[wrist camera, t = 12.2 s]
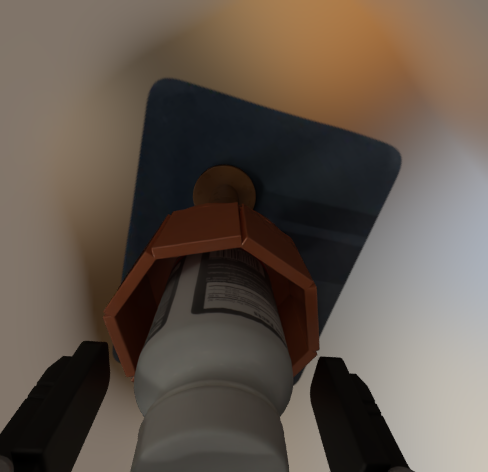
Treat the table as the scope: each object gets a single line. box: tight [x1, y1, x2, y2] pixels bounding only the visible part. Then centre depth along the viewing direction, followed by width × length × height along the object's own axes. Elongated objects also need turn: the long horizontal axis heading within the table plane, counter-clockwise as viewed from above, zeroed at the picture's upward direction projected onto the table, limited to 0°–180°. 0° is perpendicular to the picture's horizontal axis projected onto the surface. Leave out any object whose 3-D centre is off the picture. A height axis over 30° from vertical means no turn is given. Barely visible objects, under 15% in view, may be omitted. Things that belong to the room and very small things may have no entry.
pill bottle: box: [131, 247, 293, 472], centre depth 12 cm, size 5×5×10 cm
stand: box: [193, 164, 256, 210], centre depth 25 cm, size 7×7×18 cm
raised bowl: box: [103, 202, 319, 382], centre depth 14 cm, size 9×9×5 cm
